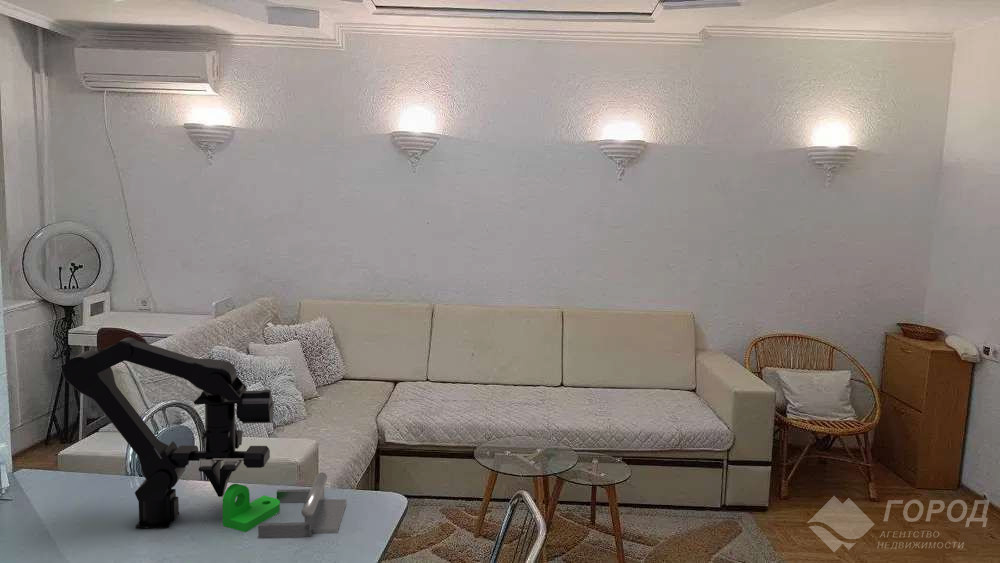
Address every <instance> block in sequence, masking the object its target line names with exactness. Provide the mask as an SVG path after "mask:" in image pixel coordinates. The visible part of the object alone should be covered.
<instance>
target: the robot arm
mask: <svg viewBox="0 0 1000 563" xmlns="http://www.w3.org/2000/svg"><path fill="white" fill-rule="evenodd" d="M122 362H128V363H132V364H134V365H135V364H136V365H138V366H141V367H144V368H147V369H148V368H149V369H152V370H155V371H159V372H162V373H164V374H168V375H171V376H175V377H178V378H181V379H184V380H186V381H188V382H189V383H190V384H191V385H193V386H194V387H196V388H197V389H199V390H202V391H201V393H200V395H199V396H197V398H195V400H194V401H193V404H194V405H204V430H205V431H204V432H203V438H204V440H205V450H199V447H198V445H179V446H177V444H176V443H175V441H171V442H170V443H169V444H166V443H164V442H162V441H161V440H160V439H158V438H157V436H156V435H155V434H154V432H153V431H152V430H151V429H150V427H149V426H148V425H147V423H146V422H145V421H144V419H143V418H142V417H141V416H140V414H139V413H138V412H137V411H136V409H135V408H134V407H133V404H132V403H130V401H129V400H128V399H127V397H126V396H125V395H124V393H122V391H121V390H120V388H118V386H117V383H116V380H115V375H114V372H113V369H112V367H114V366H116V365H118V364H120V363H122ZM237 373H238V372H237V368H235V365H234V364H233V363H232V362H229V361H227V360H221V359H215V358H214V359H213V358H197V357H193V356H189V355H185V354H181V353H178V352H175V351H172V350H169V349H165V348H162V347H159V346H156V345H153V344H149V343H147V342H143V341H139V340H137V339H135V338H134V337H129V336H128V337H126V338H123V339H122V340H120V341H118V342H116V343H114V344H112V345H108V346H107V347H104V348H102V349H100V350H98V351H97V350H94V349H93V350H92V349H91V350H86V351H83V352H81V353H79V354H78V355H75V356H73V357H71V358H70V359H69V360H67V361H66V362H65V364H64V365H63V370H62V377H63V378H64V380H65V381H66V382H67V383H68V384H69V385H71V386H72V387H73V388H74V390H76V391H77V392H78V393H80V394H82V395H83V396H85V397H87V398H89V399H91V400H92V401H94V402H95V403H96V405H97V406H98V407H99V409H100V410H101V412H103V413H104V415H105V417H107V419H108V420H109V421H110V422H111V424H112V425H113V426H114V428H115V429H116V430H117V431H118V432H119V435H121V436H122V437H123V440H125V441H126V443H127V445H129V446H130V448H131V449H132V450H133V451H134V453H135V455H137V457H138V461H139V464H140V465H139V466H140V469H141V472H142V475H143V477H144V478H145V479H144V481H143V482H142V483H141V484H140V486H138V487H137V489H136V490H135V492H134V495H135V496H136V499H137V501H138V522H137V523H136V524H135V529H162V528H163V529H164V528H166V529H167V528H169V527H171V525H172V524H173V523H174V521H175V520H176V519H177V518H178V516H179V515H180V509H179V505H180V504H179V496H176V494H177V492H176V488H174V487H175V486H176V484H177V483H178V482H179V480H180V479H181V478H182V476H183V475H184V473H185V471H186V467H187V466H188V465H189V464H190V462H191V461H192V462H199V467H198V472H202V473H203V474H204V475H205V477H206V478H207V480H208V482H210V483H211V486H212V487H213V490H214V492H216V495H217V496H218V497H219V498H223V496H224V494H225V492H226V490H227V487H228V484H229V480H230V478H231V475H232V473H233V472H236V470H237V469H238V468H239V467H240V465H241V463H242V462H243V465H244V466H245V467H246V468H247V469H250V468H251V469H255V468H256V469H261V468H264V467H265V466H266V464H267V463H268V461H269V460H270V458H271V454H270V452H271V451H270V448H269V447H268V446H267V445H249V447H248V448H247V450H243V451H241V450H238V449H239V448H240V446H242V444H243V430H238V428H237V427H238V426H237V423H236V419H238V421H239V422H241V423H242V424H244V425H245V424H271V423H272V422H273V417H274V405H275V404H274V401H273V396H272V390H271V389H263V390H248V387H247V386H246V385H245V383H243V381H242V380H241V379H240V378H239V376H238V374H237ZM222 461H223V465H222Z"/></svg>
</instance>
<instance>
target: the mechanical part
mask: <svg viewBox="0 0 1000 563" xmlns="http://www.w3.org/2000/svg"><path fill="white" fill-rule="evenodd" d="M227 487H228V486H227ZM250 496H251V495H250V489H249V487H248V486H246V485H243V484H239V483H233V484H231V485H229V487H228V488H226V490H225V492H224V495H223V497H222V502H221V503H222V527H225V528H228V529H229V528H230V529H232V530H236V529H237V531H239V532H244V533H246V532H249V531H250V530H252V529H253V528H256V527H258V525H259V523H265V521H267V520H269V519H271V518H272V517H274V516H276V515H277V514H279V513H280V511H279V510H281V509H280V508H281V507H280V505H281V504H280V501H279V500H278V499H277V497H276V498H275V497H272V496H268V495H262V496H259V497H258V498H256V499H255V500H254V499H253V501H250ZM276 513H277V514H276ZM275 514H276V515H275ZM273 515H274V516H273ZM270 517H271V518H270Z"/></svg>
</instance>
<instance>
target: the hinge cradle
mask: <svg viewBox="0 0 1000 563" xmlns="http://www.w3.org/2000/svg"><path fill="white" fill-rule="evenodd" d="M327 480H328V475H327V474H326V473H324V472H319V473H318V474H317V475H316V476H315V479H314V481H313V484H312V486H311V488H310V489H309V488H307V489H305V488H304V489H301V488H300V489H298V488H297V489H277V490H276V499H278V500H279V501H280V503H284V502H285V503H286V504H287V503H296V504H297V503H304V505H303V507H302V509H301V515H302V517H304V521H303V522H300V521H299V522H296V521H295V522H262V523H259V525H257V530H258V531H257V533H258V539H260V538H262V539H264V538H265V539H267V538H312V534H334V533H335V534H338V533H339V528H340V526H341V522H342V519H343V515H344V511H345V509H346V505H347V499H346V498H345V499H344V498H343V499H339V498H338V499H337V498H336V499H333V498H332V499H325V495H326V494H325V488H326V487H325V486H326V483H327Z"/></svg>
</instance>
